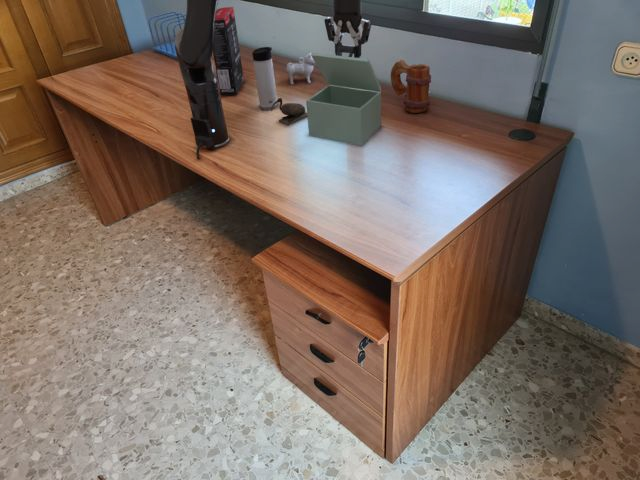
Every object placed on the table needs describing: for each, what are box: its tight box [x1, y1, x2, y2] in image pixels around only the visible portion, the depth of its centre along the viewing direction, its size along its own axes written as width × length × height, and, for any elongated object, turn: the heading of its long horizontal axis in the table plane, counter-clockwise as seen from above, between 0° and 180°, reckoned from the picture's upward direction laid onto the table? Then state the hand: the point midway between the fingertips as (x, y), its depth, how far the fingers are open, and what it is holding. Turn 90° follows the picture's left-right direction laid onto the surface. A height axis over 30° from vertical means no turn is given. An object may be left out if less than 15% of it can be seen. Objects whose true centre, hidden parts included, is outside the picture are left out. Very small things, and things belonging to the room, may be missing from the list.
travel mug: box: [251, 46, 279, 111], centre depth 161 cm, size 6×7×20 cm
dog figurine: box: [285, 51, 316, 85], centre depth 182 cm, size 5×13×11 cm, turn 95°
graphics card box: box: [212, 6, 245, 96], centre depth 176 cm, size 17×7×27 cm, turn 178°
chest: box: [305, 84, 382, 147], centre depth 145 cm, size 14×18×11 cm
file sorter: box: [147, 11, 186, 60], centre depth 224 cm, size 25×17×15 cm
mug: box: [390, 59, 432, 114], centre depth 154 cm, size 15×8×15 cm, turn 47°
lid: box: [310, 44, 383, 93], centre depth 139 cm, size 15×18×6 cm
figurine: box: [270, 97, 308, 126], centre depth 154 cm, size 14×4×9 cm, turn 134°
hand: (348, 57), depth 137 cm, fingers closed on lid, 5 cm apart
